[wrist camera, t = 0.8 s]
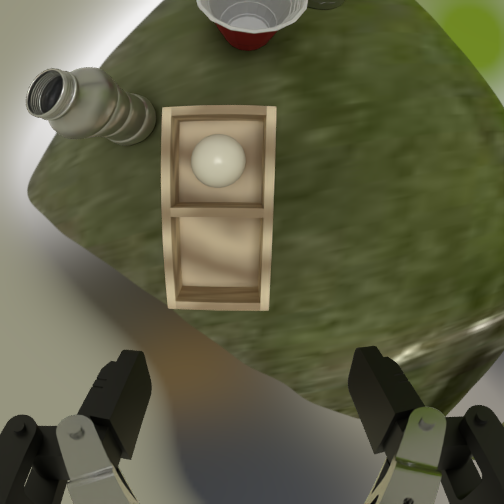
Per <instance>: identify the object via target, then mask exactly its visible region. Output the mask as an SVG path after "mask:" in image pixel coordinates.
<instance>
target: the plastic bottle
mask: <svg viewBox="0 0 504 504" xmlns="http://www.w3.org/2000/svg"><path fill="white" fill-rule="evenodd" d="M26 107H27V110H28V112H29V113H30V114H31V115H33V116H35V117H38V118H42V119H44V120H49V123H50V125H51V127H52V128H53V129H54V130H55V131H56V132H57V133H58V134H60V135H61V136H63V137H65V138H68V139H84V138H90V137H104V138H107V139H109V140H110V141H112V142H114V143H116V144H118V145H124V146H128V145H133V144H136V143H139V142H141V141H143V140H144V139H145V138H147V137H148V136H149V135H150V133H151V132H152V130H153V129H154V126H155V123H156V112H155V109H154V107H153V105H152V103H151V102H150V101H149V100H148V99H147V98H146V97H144V96H141V95H138V94H133V93H128V92H125V91H124V90H123V89H121V88H120V87H119V86H118V85H117V83H116V82H115V81H114V80H113V79H112V77H111V76H110V75H108V74H107V73H106V72H105V71H103V70H101V69H98V68H92V67H91V68H90V67H88V68H87V67H86V68H79V69H76V70H74V71H72V72H67V71H62V70H59V69H54V68H52V69H47V70H45V71H43V72H42V73H40V74H39V75H38V76H37V77H36V78H35V79H34V80H33V82H32V83H31V85H30V87H29V89H28V92H27V96H26Z"/></svg>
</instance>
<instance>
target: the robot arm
mask: <svg viewBox="0 0 504 504" xmlns="http://www.w3.org/2000/svg"><path fill="white" fill-rule="evenodd" d="M344 1H345V0H308V3H307V6H308V7H311V8H316V9H332V8H336V7H338V6H340V5H341V4H342V3H343V2H344ZM348 388H349V392H350V395H351V397H352V400H353V402H354V405H355V407H356V409H357V412H358V414H359V417H360V419H361V422H362V424H363V426H364V429H365V432H366V434H367V437H368V439H369V442H370V444H371V447H372V449H373V452H374V454H377V453H381V452H385V453H386V456H387V457H386V459H385V461H384V463H383V466H382V468H381V470H380V473H379V475H378V477H377V479H376V481H375V483H374V486H373V487H372V489H371V491H370V494H369V495H368V498H367V499H366V501H365V503H364V504H434V502H435V499H436V495H437V492H438V488H439V484H440V481H441V483H442V485H443V488H444V490H445V493H446V495H447V498H448V500H449V503H450V504H504V427H503V425H502V424H501V422H500V421H499V420H498V418H497V416H496V415H495V414H494V412H493V411H492V410H491V409H489V408H488V407H485V406H482V405H475V406H472V407H471V408H469V409H468V410H467V412H466V414H465V415H464V416H463V417H444V415H443V414H442V413H441V412H440V411H439V410H437V409H435V408H432V407H425V405H424V404H423V402H422V401H421V399H420V397H419V396H418V394H417V393H416V391H415V390H414V388H413V387H412V385H411V383H410V382H409V381H408V379H407V377H406V376H405V374H403V371H402V370H401V368H400V367H399V365H398V364H397V363H396V362H395V361H393V360H392V359H390V358H389V357H383V356H382V354H381V353H380V351H379V350H378V348H377V347H376V346H369V347H361V348H356V350H355V352H354V356H353V361H352V365H351V369H350V373H349V377H348ZM151 390H152V386H151V379H150V375H149V372H148V368H147V364H146V360H145V356H144V353H143V352H142V351H133V350H123V351H122V352H121V354H120V356H119V358H118V359H117V361H116V362H114V361H111V362H109V363H108V364H107V365H106V366H104V367H103V368H102V369H101V371H100V373H99V375H98V377H97V380H95V382H94V384H93V387H92V388H91V389H90V391H89V393H88V395H87V397H86V398H85V400H84V402H83V404H82V406H81V408H80V410H79V412H78V414H77V415H71V416H68V417H66V418H64V419H63V420H62V421H61V422H60V423H59V424H58V426H38V425H37V424H36V422H35V421H34V420H33V418H31V417H30V416H28V415H17V416H15V417H13V418H11V419H10V420H9V421H8V422H7V424H6V426H5V427H4V429H3V431H2V433H1V434H0V504H61V501H62V497H63V494H64V490H65V487H66V484H67V487H68V491H69V493H70V496H71V499H72V501H73V504H140V503H139V501H138V500H137V498H136V496H135V495H134V493H133V491H132V489H131V488H130V486H129V484H128V482H127V481H126V479H125V477H124V475H123V473H122V471H121V470H120V468H119V466H118V464H119V462H120V458H124V459H130V460H131V458H132V455H133V451H134V448H135V444H136V441H137V438H138V434H139V431H140V428H141V424H142V421H143V418H144V415H145V412H146V409H147V405H148V402H149V399H150V396H151ZM473 456H474V458H475V460H476V462H477V464H478V466H479V468H480V470H481V472H482V479H481V477H480V475H479V473H478V471H477V469H476V467H475V465H474V463H473V461H472V459H471V458H472V457H473ZM31 467H32V469H31ZM30 469H31V472H30ZM29 472H30V474H29ZM28 474H29V477H28ZM27 477H28V480H27V482H26V479H27ZM68 480H70V482H67V481H68ZM25 482H26V485H25ZM24 485H25V487H24Z"/></svg>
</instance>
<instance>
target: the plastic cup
mask: <svg viewBox="0 0 504 504" xmlns="http://www.w3.org/2000/svg"><path fill="white" fill-rule="evenodd" d="M196 1H197V5H198V7H199V8H200V9H201V10H202V11H203V12H204V13H205V14H206V16H207V17H208V18H209V19H210V20H211V21H213V22H215V24H216V25H217V27H218V29H219V30H220V32H221V33H222V34H223V35H224V37H225V39H226V40H227V41H228V42H229V43H230V45H232V46H233V47H235V48H237V49H239V50H246V51H250V50H256V49H258V48H260V47H262V46H264V45H266V43H267V42H268V41H269V40H270V39H271V38H272V37H273V35H274V34H275V33H276V32H277V31H278V30H279V29H281V28H283V27H285V26H287V25H290V24H292V23H294V22H296V21H297V19H298V18H299V17H300V16H301V15H302V13H303V12H304V11H305V10H306V9H307V3H308V0H196Z"/></svg>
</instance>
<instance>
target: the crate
mask: <svg viewBox="0 0 504 504" xmlns="http://www.w3.org/2000/svg"><path fill="white" fill-rule="evenodd" d="M214 134H224V135H228V136H230V137H232V138H234V139H235V140H236V141H238V142H239V144H240V145H241V146H242V148H243V150H244V153H245V157H246V164H245V169H244V171H243V173H242V175H241V176H240V178H239V179H238V180H237V181H236V182H234V183H233V184H231V185H229V186H226V187H222V188H214V187H209V186H207V185H205V184H203V183H201V182H200V181H199V180H198V179H197V178H196V176H195V175H194V173H193V171H192V167H191V156H192V152H193V150H194V148H195V146H196V145H197V144H198V143H199V142H200V141H201V140H202V139H204V138H205V137H207V136H210V135H214ZM275 145H276V107H275V106H252V105H201V106H178V107H163V108H162V134H161V206H162V233H163V251H164V266H165V279H166V291H167V302H168V308H169V309H193V310H237V311H269V293H270V274H271V253H272V230H273V205H274V178H275Z"/></svg>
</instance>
